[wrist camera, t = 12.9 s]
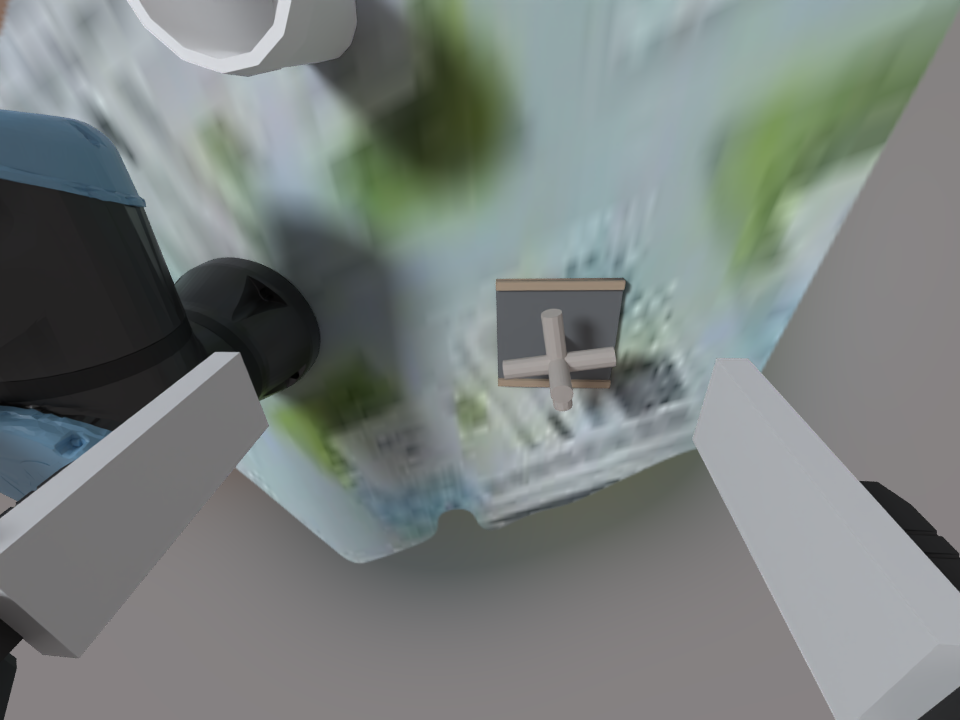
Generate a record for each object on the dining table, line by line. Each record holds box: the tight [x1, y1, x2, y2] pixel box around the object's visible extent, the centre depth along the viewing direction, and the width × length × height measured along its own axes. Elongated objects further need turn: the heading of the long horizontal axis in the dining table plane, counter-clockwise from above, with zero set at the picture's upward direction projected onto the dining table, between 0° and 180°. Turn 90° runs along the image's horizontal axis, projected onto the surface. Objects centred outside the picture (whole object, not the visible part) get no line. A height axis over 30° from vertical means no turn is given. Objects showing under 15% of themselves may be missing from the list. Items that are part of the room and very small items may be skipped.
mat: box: [496, 278, 625, 388], centre depth 42 cm, size 12×12×1 cm
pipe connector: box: [503, 309, 616, 411], centre depth 38 cm, size 10×10×10 cm
